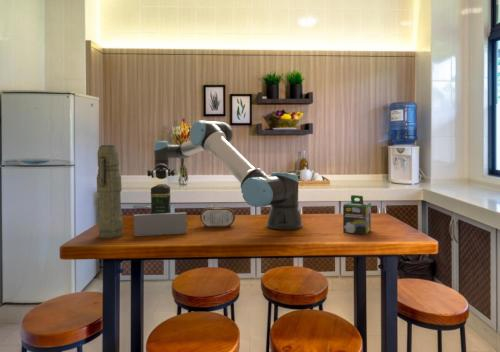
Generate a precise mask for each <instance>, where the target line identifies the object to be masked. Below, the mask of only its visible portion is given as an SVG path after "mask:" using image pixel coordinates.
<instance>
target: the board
mask: <svg viewBox="0 0 500 352" xmlns="http://www.w3.org/2000/svg"><path fill="white" fill-rule="evenodd" d="M187 215H188V214H187V212H186V211H184V212H183V211H182V212H181V211H180V212H171V213H158V214H151V213H142V214H139V213H138V214H133V236H134V237H143V236H144V237H146V236H147V237H148V236H163V235H164V234H165V235H179V234H181V235H182V234H187V233H188V229H187V228H188V224H187V223H188V221H187V220H188V219H187Z"/></svg>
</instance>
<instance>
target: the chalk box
mask: <svg viewBox="0 0 500 352" xmlns="http://www.w3.org/2000/svg"><path fill="white" fill-rule="evenodd" d="M355 199H359V200H358V201H357V200H355ZM342 208H343V209H342V210H343V211H342V213H343V214H342V233H344V234H345V233H348V234H353V235H356V234H357V235H363V236H367V234H369V232H370V231H372V202H369V201H367V202H366V201H364V196H363V195H353V194H352V195H350V201H348V202H346V203H344V204H343V206H342Z"/></svg>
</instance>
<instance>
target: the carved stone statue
mask: <svg viewBox="0 0 500 352" xmlns="http://www.w3.org/2000/svg"><path fill="white" fill-rule="evenodd" d="M96 155H97V156H96V157H97V167H98V170H97V176H96V191H97V193H98V209H99V210H98V215H99V216H98V219H97V226H98V227H97V228H98V233H99V234H98V237H99V238H100V239H115V238H120V237H122V236H123V235H124V233H123V230H124V220H123V219H124V217H123V215H122V201H121V200H122V199H121V198H122V197H121V193H122V176H121V172H120V168H119V166H120V155H119V150H118V148H117V146H115V145H113V144H112V145H109V144H107V145H106V144H103V145H102V144H101V146H99V147H98V150H97V154H96Z"/></svg>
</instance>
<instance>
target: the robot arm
mask: <svg viewBox="0 0 500 352" xmlns="http://www.w3.org/2000/svg"><path fill="white" fill-rule="evenodd" d="M189 130H190V131H189V140H188V141H185V142H183V143H181V144H169V141H167V140H157V141H154V145H153V155H154V161H153V163H154V168H153V170H152V169H146V172H147V177H150V178H152V179H154V178H157V179H160V180H164V179H166V178H169V177H170V176H172V177H174V176H175V175H176V170H175V169H174V168H172V169H171V168H170V167H169V166H170V164H169V162H170V159H188V158H190V157H191V156H192V155H195V154H197V153H200V152H204V151H205V152H206V153H208V154H212V155H213V156H214V157H215V158H216V159H217V160H218V161H219V163H221V164H222V165H223V167H225V168H226V169H227V170H228V172H230V174H232V176H234V177H235V179H236V180H237V181H238V182H239V183H240V189H241V190H240V191H241V194H242V199H243V200H244V201H245V203H247V205H249V206H251V207H254V208H263V207H267V206H270V211H269V215H268V217H267V220H266V227H267V228H270V229H273V230H282V231H283V230H285V231H286V230H287V231H289V230H291V231H292V230H298V229H301V228H302V227H303V220H302V217H301V214H300V209H299V176H298V175H297V174H296V173H289V172H279V171H277V172H276V171H275V172H274V171H272V172H271V173H270V175H269V174H267V173H266V172H265V171H264V170H263V169H262V168H259V167H257V168H256V167H254V166H253V165H252V164H251V163H250V161H249V160H247V159H246V158H245V157H244V155H242V154H241V152H239V151H238V150H237V149H236V148H235V147H234V146H233V145H232V144H231V142H232V140H233V137H234V134H233V133H234V132H233V129H232V127H231V126H230V125H229V124H228V123H226V122H223V121H217V120H215V121H212V120H204V119H201V120H195V121H194V122H193V123H192V124H191V127H190V129H189Z"/></svg>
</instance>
